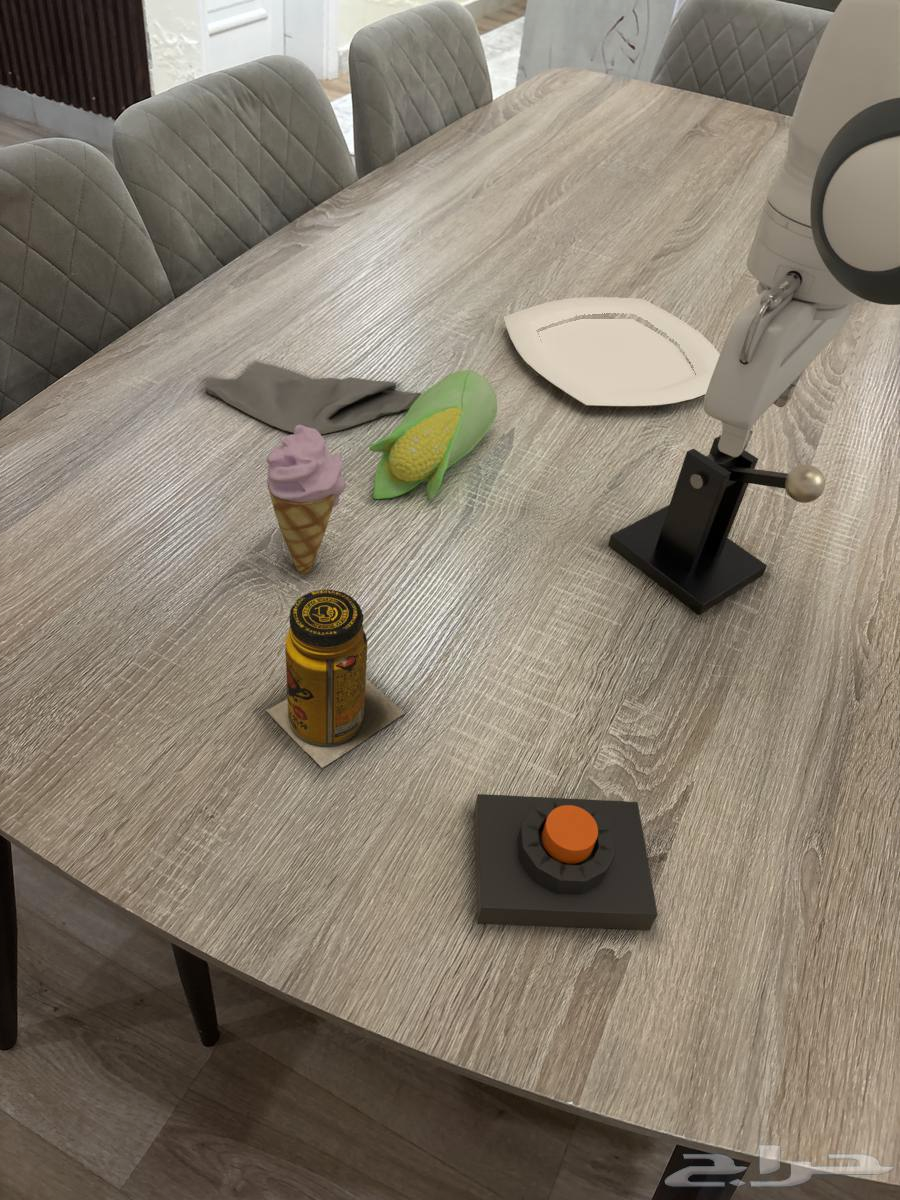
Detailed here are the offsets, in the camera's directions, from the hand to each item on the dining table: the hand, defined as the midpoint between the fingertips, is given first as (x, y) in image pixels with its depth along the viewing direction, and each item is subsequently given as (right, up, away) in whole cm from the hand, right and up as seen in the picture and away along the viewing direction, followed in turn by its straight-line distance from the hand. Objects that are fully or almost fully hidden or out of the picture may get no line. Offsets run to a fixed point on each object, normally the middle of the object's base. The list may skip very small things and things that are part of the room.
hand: (754, 425), depth 74 cm
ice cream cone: (-37, -11, +14) cm, 41 cm away
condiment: (-33, -23, +2) cm, 40 cm away
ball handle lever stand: (0, -10, +20) cm, 23 cm away
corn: (-25, +1, +29) cm, 38 cm away
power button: (-16, -30, -8) cm, 35 cm away
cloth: (-39, +9, +34) cm, 53 cm away
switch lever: (+4, -4, +10) cm, 12 cm away
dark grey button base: (-16, -33, -6) cm, 37 cm away
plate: (-3, +17, +48) cm, 52 cm away
